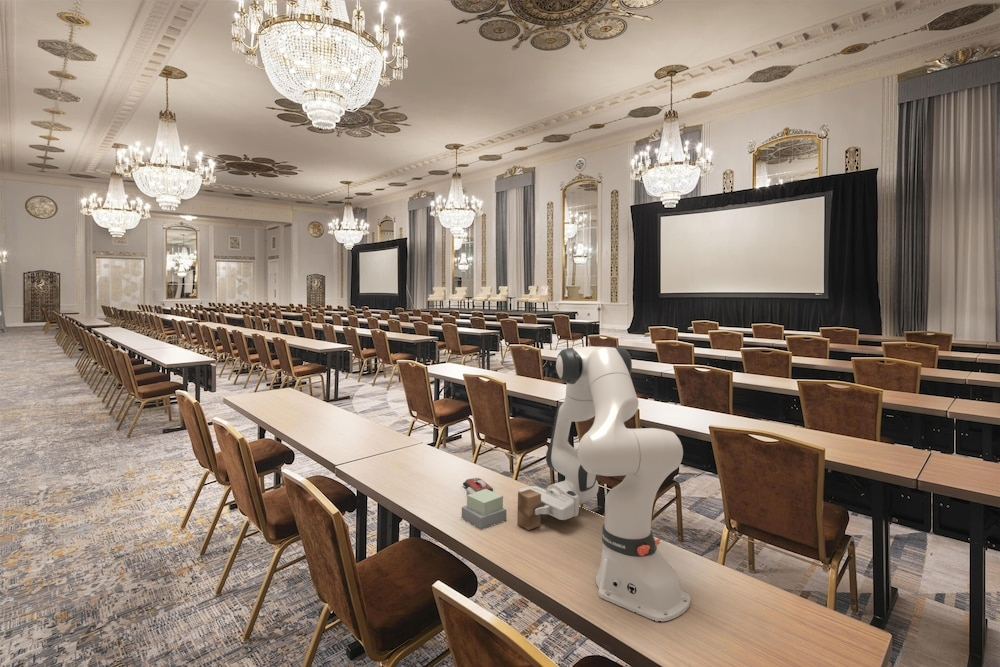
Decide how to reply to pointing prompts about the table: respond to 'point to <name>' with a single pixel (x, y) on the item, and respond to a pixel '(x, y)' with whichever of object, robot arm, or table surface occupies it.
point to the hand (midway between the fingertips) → (527, 508)
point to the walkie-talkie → (476, 485)
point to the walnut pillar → (528, 509)
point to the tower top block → (484, 502)
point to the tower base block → (483, 517)
